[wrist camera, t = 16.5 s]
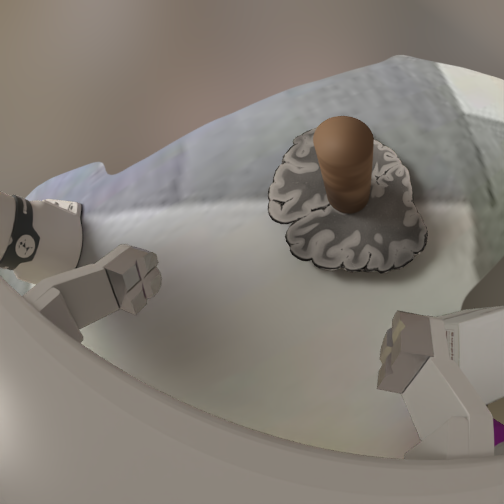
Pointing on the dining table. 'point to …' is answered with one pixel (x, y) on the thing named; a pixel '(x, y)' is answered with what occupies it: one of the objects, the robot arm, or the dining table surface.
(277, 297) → the dining table surface
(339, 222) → the brain slice
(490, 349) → the supplement box
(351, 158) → the walnut pepper mill
